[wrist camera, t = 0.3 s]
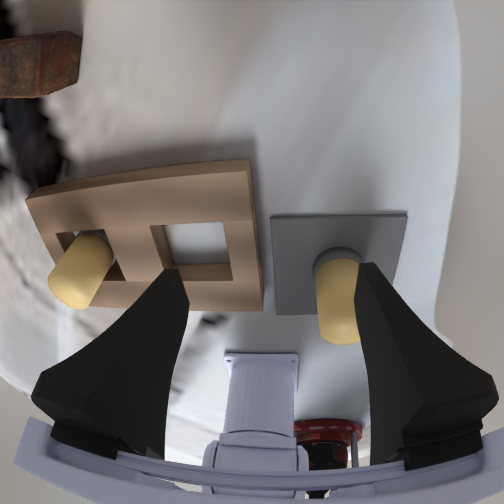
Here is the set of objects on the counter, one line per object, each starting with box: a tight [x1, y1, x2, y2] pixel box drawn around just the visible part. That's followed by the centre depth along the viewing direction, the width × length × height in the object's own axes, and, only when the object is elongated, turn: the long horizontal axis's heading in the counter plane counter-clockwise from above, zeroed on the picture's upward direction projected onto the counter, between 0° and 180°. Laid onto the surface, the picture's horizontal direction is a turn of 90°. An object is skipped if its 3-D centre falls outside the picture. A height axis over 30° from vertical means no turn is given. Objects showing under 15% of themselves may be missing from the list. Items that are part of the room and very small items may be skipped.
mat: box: [270, 215, 408, 315], centre depth 25 cm, size 10×10×1 cm
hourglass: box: [293, 419, 362, 499], centre depth 39 cm, size 16×16×25 cm
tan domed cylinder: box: [48, 229, 116, 309], centre depth 23 cm, size 4×4×6 cm
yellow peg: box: [312, 247, 363, 345], centre depth 22 cm, size 4×4×6 cm
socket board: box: [25, 159, 264, 311], centre depth 24 cm, size 12×18×2 cm, turn 96°
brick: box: [0, 31, 82, 98], centre depth 13 cm, size 11×4×5 cm, turn 77°
